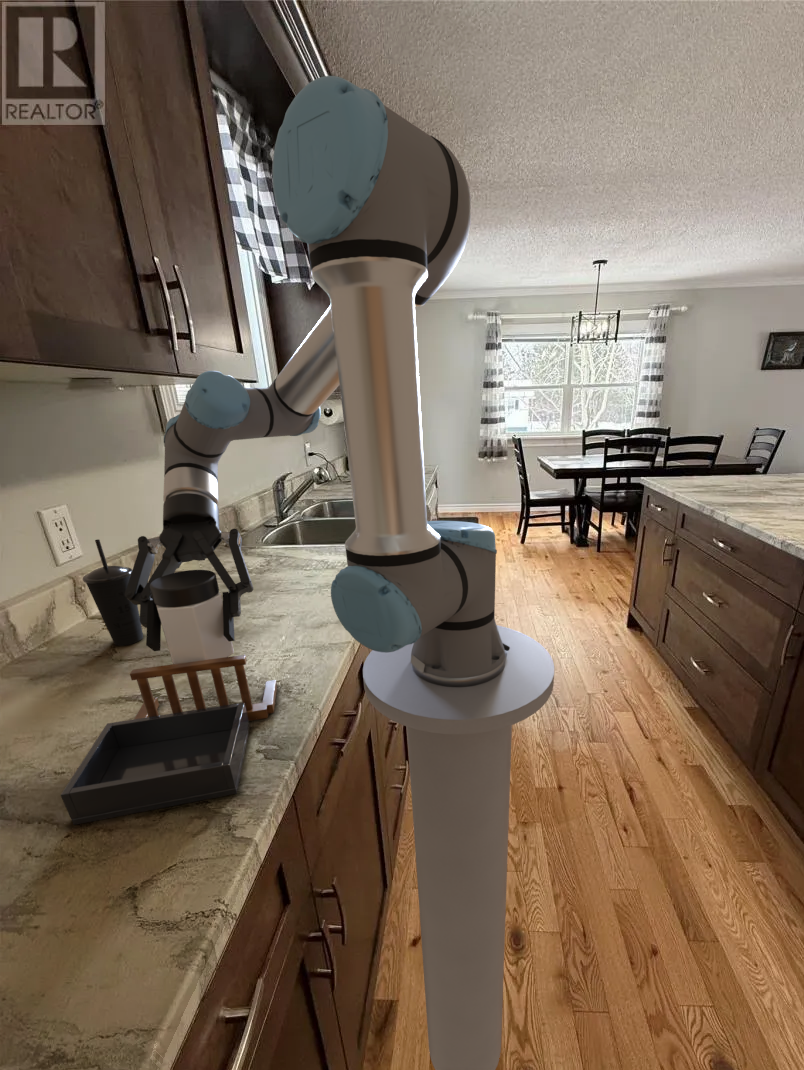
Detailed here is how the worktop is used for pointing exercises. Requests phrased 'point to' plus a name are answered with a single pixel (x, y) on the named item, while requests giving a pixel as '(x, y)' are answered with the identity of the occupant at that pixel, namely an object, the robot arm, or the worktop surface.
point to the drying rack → (191, 669)
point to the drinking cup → (114, 601)
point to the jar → (191, 615)
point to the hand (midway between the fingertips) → (191, 642)
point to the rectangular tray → (159, 763)
